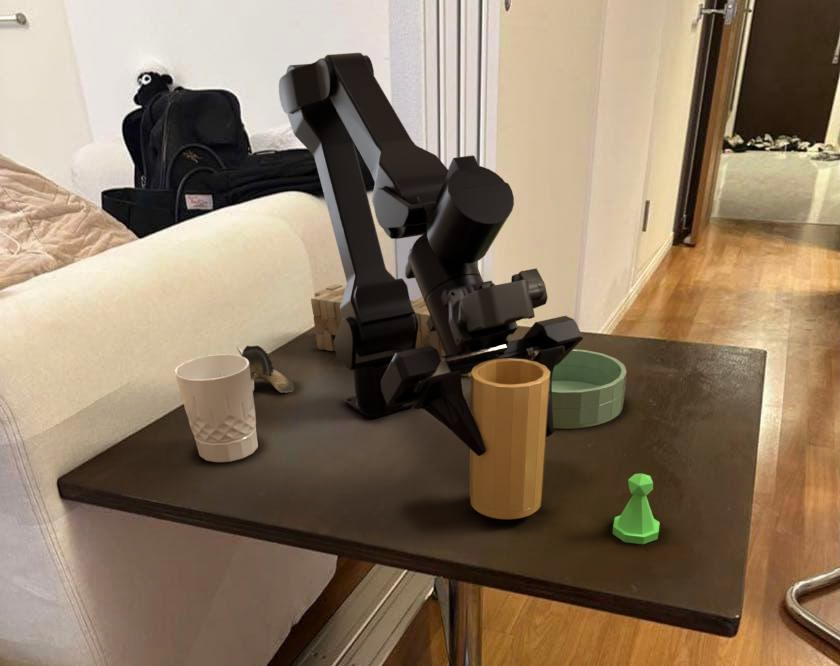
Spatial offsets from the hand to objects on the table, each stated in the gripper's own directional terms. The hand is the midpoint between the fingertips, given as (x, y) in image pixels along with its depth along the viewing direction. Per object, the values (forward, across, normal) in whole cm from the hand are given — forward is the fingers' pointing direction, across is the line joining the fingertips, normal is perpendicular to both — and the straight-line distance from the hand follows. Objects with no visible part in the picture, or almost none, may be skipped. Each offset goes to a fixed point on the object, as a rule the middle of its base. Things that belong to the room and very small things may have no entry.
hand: (516, 444), depth 71 cm
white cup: (-15, -20, +26) cm, 36 cm away
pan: (-8, +19, +19) cm, 28 cm away
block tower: (-27, +11, +39) cm, 49 cm away
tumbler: (+4, 0, +6) cm, 7 cm away
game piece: (+11, +8, 0) cm, 14 cm away
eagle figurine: (-26, -11, +38) cm, 47 cm away
